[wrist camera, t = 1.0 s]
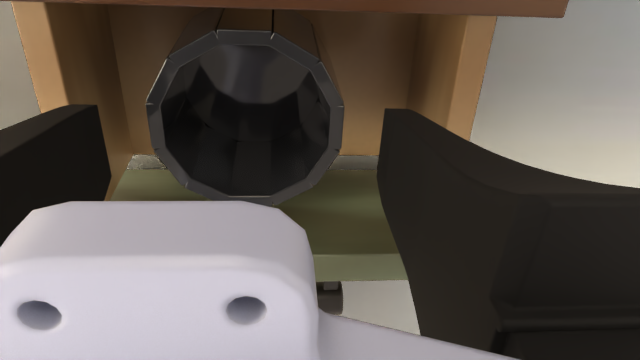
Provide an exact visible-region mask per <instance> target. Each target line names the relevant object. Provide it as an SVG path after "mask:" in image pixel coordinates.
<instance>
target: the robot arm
mask: <svg viewBox="0 0 640 360" xmlns="http://www.w3.org/2000/svg"><path fill="white" fill-rule="evenodd" d="M111 177H112V174H111V170H110V165H109V160H108V155H107V150H106V145H105V140H104V135H103V131H102V126H101V121H100V116H99V111H98V106H97V105H87V104H71V105H65V106H62V107H58V108H55V109H52V110H50V111H47V112H44V113H42V114H39V115H37V116H34V117H32V118H29V119H27V120H25V121H22V122H20V123H17V124H15V125H12V126H10V127H7V128H5V129H2V130H0V360H640V188H633V187H625V186H617V185H609V184H603V183H598V182H592V181H587V180H582V179H577V178H572V177H568V176H564V175H560V174H555V173H552V172H548V171H545V170H541V169H538V168H534V167H531V166H528V165H525V164H522V163H519V162H516V161H513V160H511V159H508V158H505V157H503V156H500V155H498V154H495V153H493V152H490V151H488V150H486V149H484V148H482V147H480V146H478V145H475V144H473V143H471V142H469V141H467V140H465V139H464V138H462V137H460V136H458V135H456V134H454V133H452V132H451V131H449V130H447V129H445V128H444V127H442V126H440V125H439V124H437V123H435V122H433V121H432V120H430V119H428V118H426V117H425V116H423V115H421V114H419V113H417V112H415V111H413V110H410V109H390V108H385V110H384V118H383V126H382V134H381V142H380V150H379V158H378V166H377V175H376V177H377V183H378V189H379V194H380V199H381V204H382V207H383V210H384V213H385V216H386V219H387V221H388V224H389V227H390V230H391V232H392V235H393V238H394V240H395V243H396V246H397V249H398V251H399V254H400V257H401V259H402V262H403V265H404V268H405V271H406V274H407V277H408V280H409V284H410V289H411V293H412V297H413V302H414V306H415V310H416V315H417V320H418V324H419V329H420V334H421V336H420V335H416V334H412V333H408V332H404V331H400V330H395V329H391V328H387V327H383V326H379V325H375V324H371V323H366V322H362V321H358V320H354V319H350V318H346V317H341V316H337V315H333V314H329V313H325V312H324V311H322V310H321V309H320V308H319V307H318V302H317V291H316V281H315V271H314V260H313V255H312V252H311V248H310V245H309V242H308V238H307V235H306V232H305V230H304V229H303V228H302V227H301V226H299V225H298V224H297V223H296V222H294V221H293V220H292V219H291V218H290V217H288V216H287V215H286V214H285V213H283V212H282V211H281V210H280V209H277V208H273V207H268V206H263V205H259V204H254V203H249V202H245V201H104V200H105V197H106V194H107V191H108V187H109V184H110V181H111Z"/></svg>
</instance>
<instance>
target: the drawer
mask: <svg viewBox="0 0 640 360" xmlns="http://www.w3.org/2000/svg"><path fill="white" fill-rule="evenodd" d="M11 5H12V8H13V12H14V16H15V20H16V23H17V27H18V31H19V34H20V38H21V42H22V45H23V49H24V53H25V56H26V60H27V64H28V68H29V71H30V75H31V79H32V82H33V86H34V90H35V93H36V97H37V101H38V105H39V108H40V112H41V114H42V113H44V112H47V111H50V110H52V109H55V108H58V107H62V106H65V105H71V104H87V105H97V106H98V111H99V116H100V121H101V126H102V131H103V135H104V140H105V145H106V150H107V155H108V160H109V165H110V170H111V174H112V177H111V181H110V184H109V187H108V191H107V194H106V197H105V200H104V201H212V200H210V199H208V198H206V197H204V196H201V195H199V194H197V193H195V192H192V191H190V190H188V189H186V188H184V185H183V186H182V185H181V184H180V183H179V182H178V181H177V180H176V178H175V177H174V176H173V175H172V173H171V172H170V171H169V170H168V169H126V168H127V166H128V164H129V162H130V160H131V158H132V156H133V154H149V155H156V154H155V153H154V151H153V150H154V148H152V146H151V140H150V133H149V126H148V119H147V113H146V106H145V103H146V98H147V96H148V94H149V92H150V90H151V88H152V86H153V84H154V82H155V80H156V77H157V75H158V73H159V71H160V69H161V67H162V65H163V63H164V61H165V59H166V57H167V56H168V54H169V52H170V51H171V49H172V48H173V46H174V44H175V43H176V41H177V39H178V38H179V36H180V35H181V33H182V31H183V30H184V28H185V26H186V25H187V23H188V21H189V20H191V18H192V17H193V16H195V15H197V14H198V13H200V12H202V11H204V10H205V9H207V8H209V7H180V6H148V5H115V4H82V3H49V2H16V1H11ZM294 11H296V12H297V13H299V14H300V15H302V16H304V17H305V18H307V19H308V20H310V22H311V23H312V24H313V25H314V27H315V29H316V31H317V33H318V35H319V37H320V39H321V40H322V42H323V44H324V46H325V48H326V50H327V52H328V54H329V56H330V58H331V61H332V65H333V68H334V71H335V75H336V78H337V81H338V85H339V88H340V91H341V95H342V98H343V101H344V106H345V110H344V123H343V136H342V148H341V149H340V153H339V154H338V155H379V150H380V142H381V134H382V126H383V118H384V110H385V108H390V109H410V110H413V111H415V112H417V113H419V114H421V115H423V116H425V117H426V118H428V119H430V120H432V121H433V122H435V123H437V124H439V125H440V126H442V127H444V128H445V129H447V130H449V131H451V132H452V133H454V134H456V135H458V136H460V137H462V138H464V139H465V140H467V141H469V139H470V134H471V130H472V126H473V121H474V117H475V112H476V108H477V104H478V99H479V95H480V90H481V86H482V82H483V77H484V73H485V69H486V64H487V60H488V55H489V51H490V47H491V42H492V38H493V33H494V29H495V25H496V20H497V16H477V15H444V14H411V13H378V12H345V11H312V10H294ZM376 175H377V170H327V171H326V172H325V173H324V175H323V176H322V178H321V179H320V180H319V182H318V183H317V184H316V185H313V188H311V189H309V190H307V191H305V192H303V193H301V194H299V195H297V196H295V197H293V198H290V199H288V200H286V201H284V202H282V203H280V204H278V205H276V206H275V205H274V204H273V205H272V206H271V207H273V208H277V209H280V210H281V211H282V212H283V213H285V214H286V215H287V216H288V217H290V218H291V219H292V220H293V221H294V222H296V223H297V224H298V225H299V226H301V227H302V228H303V229H304V230H305V232H306V235H307V238H308V242H309V245H310V248H311V252H312V255H313V260H314V271H315V281H316V291H317V302H318V307H319V308H320V309H321V310H322V311H324V312H325V313H329V314H333V315H340V314H342V310H343V291H342V284H341V281H374V280H408V277H407V274H406V271H405V268H404V265H403V262H402V259H401V257H400V254H399V251H398V249H397V246H396V243H395V240H394V238H393V235H392V232H391V230H390V227H389V224H388V221H387V219H386V216H385V213H384V210H383V207H382V204H381V199H380V194H379V189H378V183H377V177H376Z"/></svg>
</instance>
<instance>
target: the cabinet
mask: <svg viewBox="0 0 640 360" xmlns="http://www.w3.org/2000/svg"><path fill="white" fill-rule="evenodd" d="M0 1H16V2H49V3H82V4H115V5H148V6H180V7H213V8H246V9H279V10H312V11H345V12H378V13H411V14H444V15H477V16H510V17H543V18H562V17H564V14H565V11H566V8H567V4H568V1H569V0H0Z"/></svg>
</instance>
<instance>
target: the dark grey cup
mask: <svg viewBox="0 0 640 360" xmlns="http://www.w3.org/2000/svg"><path fill="white" fill-rule="evenodd" d="M145 106H146V113H147V119H148V126H149V133H150V140H151V146H152V148H154V150H153V151H154V153H155V154H156V155H157V156H158V157H159V159H160V160H161V161H162V162H163V164H164V165H165V166H166V167H167V169H168V170H169V171H170V172H171V173H172V175H173V176H174V177H175V178H176V180H177V181H178V182H179V183H180V184H181V185H182V186H183V185H184V188H186V189H188V190H190V191H192V192H195V193H197V194H199V195H201V196H204V197H206V198H208V199H210V200H212V201H245V202H249V203H254V204H259V205H263V206H268V207H271V206H272V205H273V204H274V205H275V206H276V205H278V204H280V203H282V202H284V201H286V200H288V199H290V198H293V197H295V196H297V195H299V194H301V193H303V192H305V191H307V190H309V189H311V188H313V185H316V184H317V183H318V182H319V180H320V179H321V178H322V176H323V175H324V173H325V172H326V171H327V169H328V168H329V167H330V165H331V164H332V162H333V161H334V160H335V158H336V157H337V156H338V154H339V153H340V149H341V148H342V136H343V123H344V110H345V106H344V101H343V98H342V95H341V91H340V88H339V85H338V81H337V78H336V75H335V71H334V68H333V65H332V61H331V58H330V56H329V54H328V52H327V50H326V48H325V46H324V44H323V42H322V40H321V39H320V37H319V35H318V33H317V31H316V29H315V27H314V25H313V24H312V23H311V22H310V20H308V19H307V18H305V17H304V16H302V15H300V14H299V13H297V12H296V11H294V10H279V9H246V8H213V7H209V8H207V9H205V10H204V11H202V12H200V13H198V14H197V15H195V16H193V17H192V18H191V20H189V21H188V23H187V25H186V26H185V28H184V30H183V31H182V33H181V35H180V36H179V38H178V39H177V41H176V43H175V44H174V46H173V48H172V49H171V51H170V52H169V54H168V56H167V57H166V59H165V61H164V63H163V65H162V67H161V69H160V71H159V73H158V75H157V77H156V80H155V82H154V84H153V86H152V88H151V90H150V92H149V94H148V96H147V98H146V103H145Z"/></svg>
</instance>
